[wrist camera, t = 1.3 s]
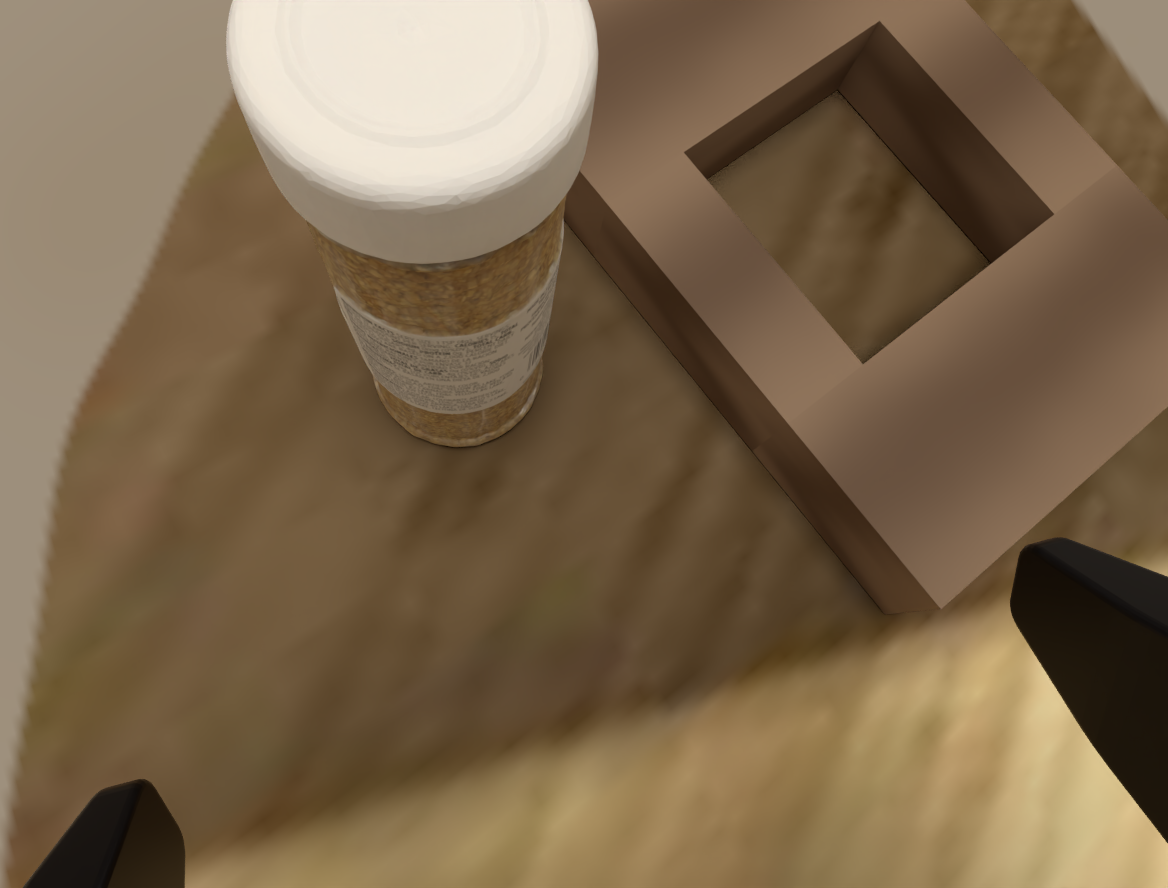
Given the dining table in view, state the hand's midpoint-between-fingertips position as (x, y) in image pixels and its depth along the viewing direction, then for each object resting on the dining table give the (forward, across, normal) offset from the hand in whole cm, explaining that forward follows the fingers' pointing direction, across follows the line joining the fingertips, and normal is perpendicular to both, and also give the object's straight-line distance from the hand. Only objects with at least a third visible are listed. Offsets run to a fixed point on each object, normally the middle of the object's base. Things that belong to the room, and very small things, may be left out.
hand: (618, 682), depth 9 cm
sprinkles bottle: (+15, +1, +4) cm, 16 cm away
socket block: (+16, -11, +3) cm, 20 cm away
